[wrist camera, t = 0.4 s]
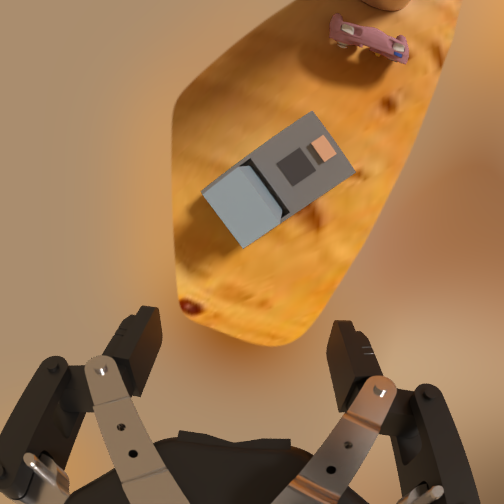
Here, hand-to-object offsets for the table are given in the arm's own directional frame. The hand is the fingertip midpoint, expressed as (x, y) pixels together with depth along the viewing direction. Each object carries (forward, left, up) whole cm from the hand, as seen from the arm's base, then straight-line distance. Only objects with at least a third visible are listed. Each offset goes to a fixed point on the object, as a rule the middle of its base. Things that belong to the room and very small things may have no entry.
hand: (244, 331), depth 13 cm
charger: (0, -4, -22) cm, 23 cm away
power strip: (-4, -4, -24) cm, 24 cm away
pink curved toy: (-23, -12, -24) cm, 35 cm away
